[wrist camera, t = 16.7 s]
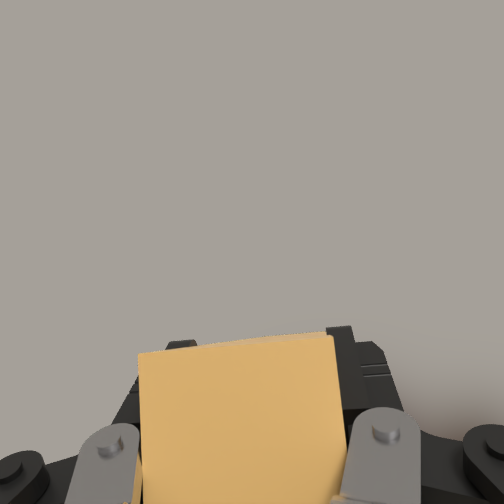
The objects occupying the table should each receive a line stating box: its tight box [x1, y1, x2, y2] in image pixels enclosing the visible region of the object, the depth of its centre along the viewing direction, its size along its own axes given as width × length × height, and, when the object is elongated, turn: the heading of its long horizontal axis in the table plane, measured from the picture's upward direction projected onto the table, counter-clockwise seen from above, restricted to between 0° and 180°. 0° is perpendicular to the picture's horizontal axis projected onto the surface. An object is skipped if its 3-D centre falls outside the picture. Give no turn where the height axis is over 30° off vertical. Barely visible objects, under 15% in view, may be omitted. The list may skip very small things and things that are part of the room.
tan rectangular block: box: [138, 331, 347, 504], centre depth 19 cm, size 5×23×4 cm, turn 171°
